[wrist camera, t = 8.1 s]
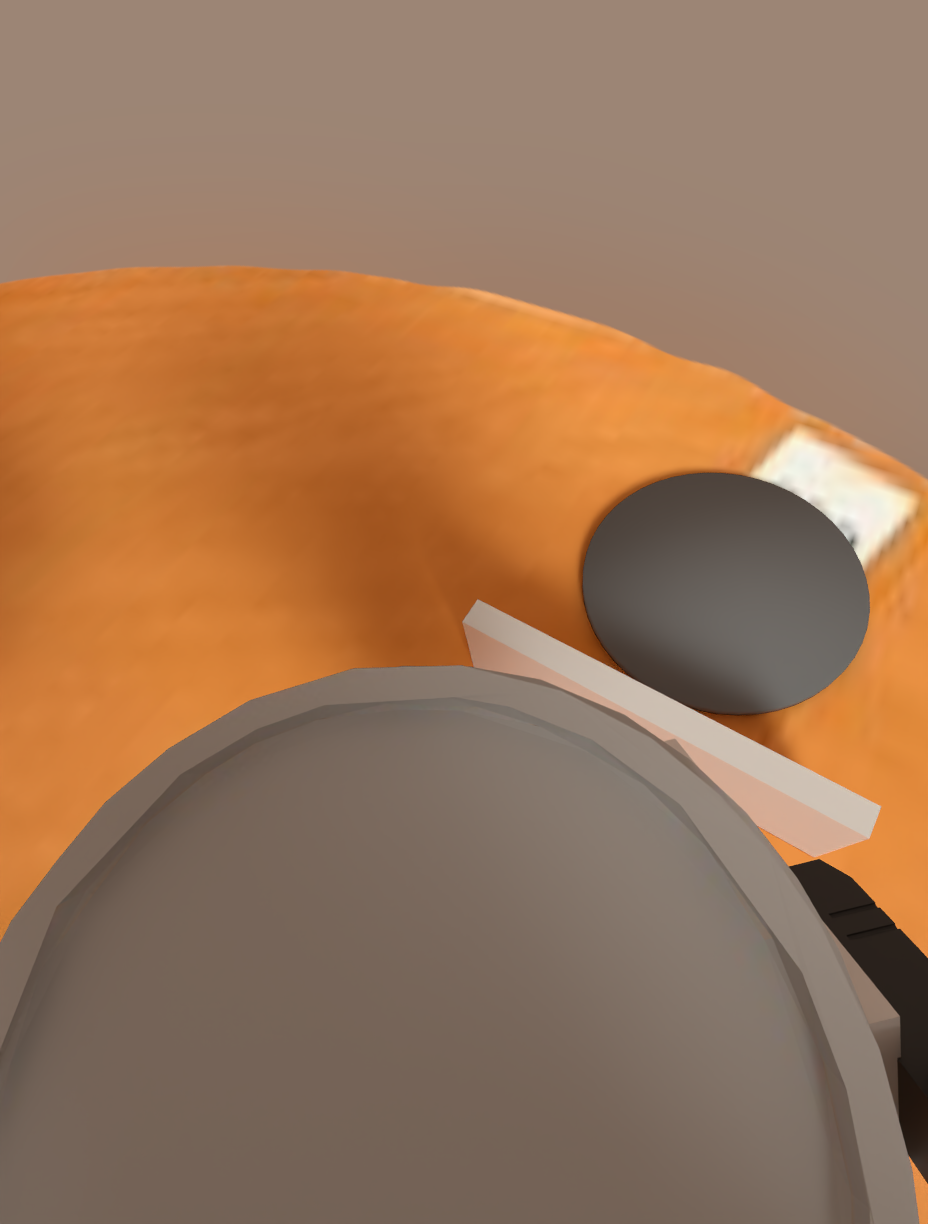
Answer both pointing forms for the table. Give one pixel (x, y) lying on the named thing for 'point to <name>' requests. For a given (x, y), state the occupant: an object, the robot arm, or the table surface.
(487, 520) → the table surface
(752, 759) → the low wall
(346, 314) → the table surface
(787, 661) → the rubber pad
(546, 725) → the disposable coffee cup
